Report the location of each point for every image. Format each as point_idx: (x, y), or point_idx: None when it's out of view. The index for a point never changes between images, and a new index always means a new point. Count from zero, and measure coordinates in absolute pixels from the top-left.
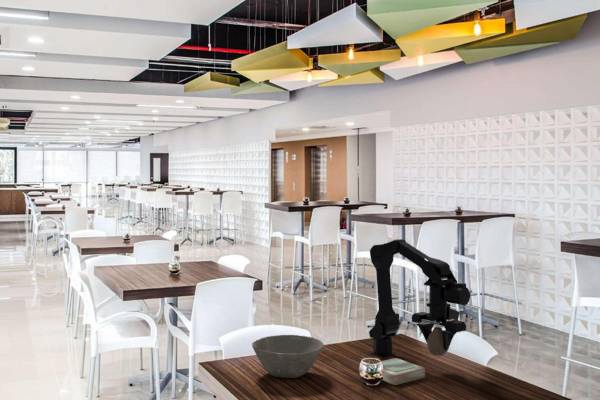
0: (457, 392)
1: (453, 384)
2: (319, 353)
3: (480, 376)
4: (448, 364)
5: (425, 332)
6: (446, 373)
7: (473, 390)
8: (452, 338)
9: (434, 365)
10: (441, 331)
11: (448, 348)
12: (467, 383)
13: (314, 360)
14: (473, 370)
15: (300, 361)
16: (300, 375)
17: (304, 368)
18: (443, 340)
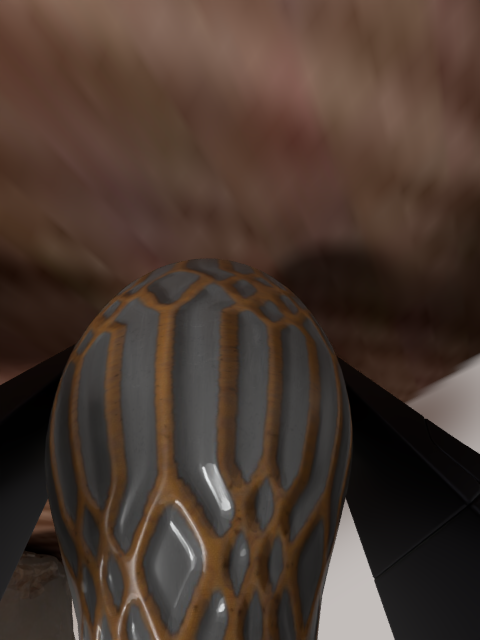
0: (397, 397)
1: (361, 356)
2: (37, 632)
3: (452, 152)
4: (155, 64)
5: (3, 569)
6: (270, 270)
7: (444, 351)
8: (470, 450)
9: (122, 195)
10: (313, 620)
11: (338, 360)
12: (407, 309)
13: (53, 608)
14: (381, 42)
15: (73, 632)
16: (58, 563)
17: (66, 592)
18: (354, 499)
